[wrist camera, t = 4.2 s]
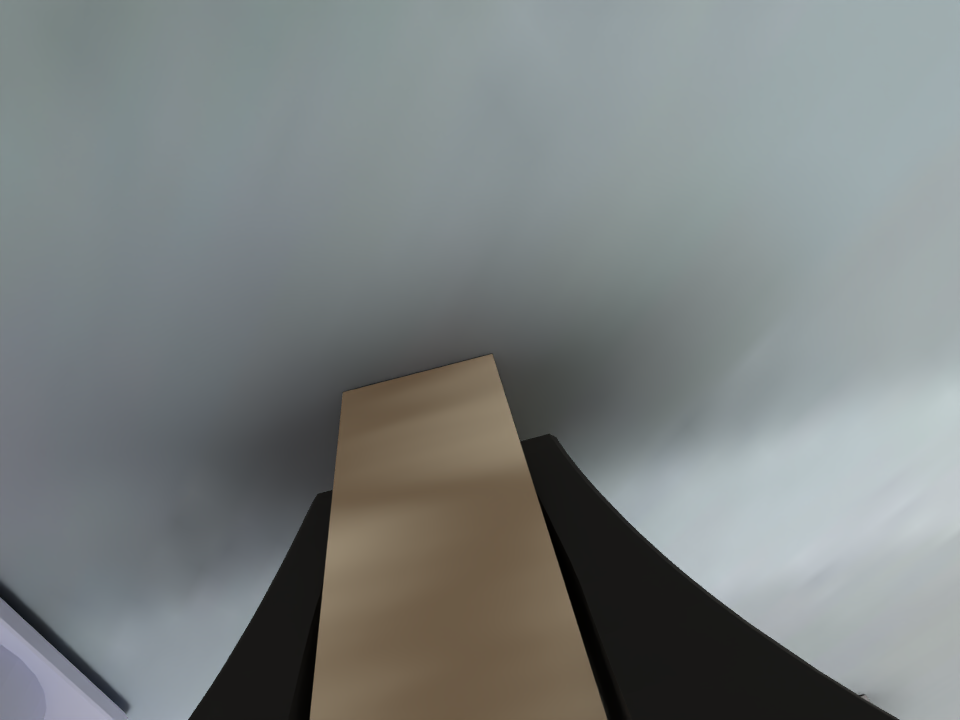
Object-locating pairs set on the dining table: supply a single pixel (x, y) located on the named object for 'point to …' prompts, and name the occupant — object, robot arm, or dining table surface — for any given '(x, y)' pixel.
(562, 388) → the dining table surface
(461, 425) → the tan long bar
